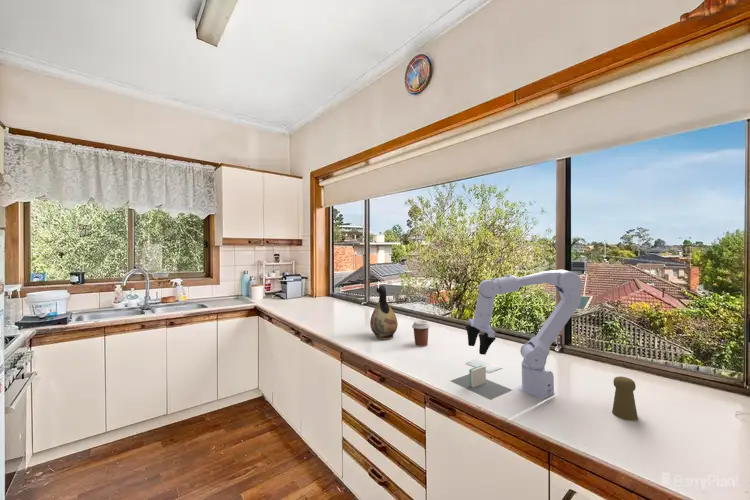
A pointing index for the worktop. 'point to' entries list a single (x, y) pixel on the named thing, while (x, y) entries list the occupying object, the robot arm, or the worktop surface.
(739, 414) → the worktop surface
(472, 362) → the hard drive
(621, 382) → the olive green pepper mill
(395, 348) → the worktop surface
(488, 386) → the mat
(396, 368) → the worktop surface
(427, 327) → the coffee cup
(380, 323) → the ceramic jug
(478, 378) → the tile
